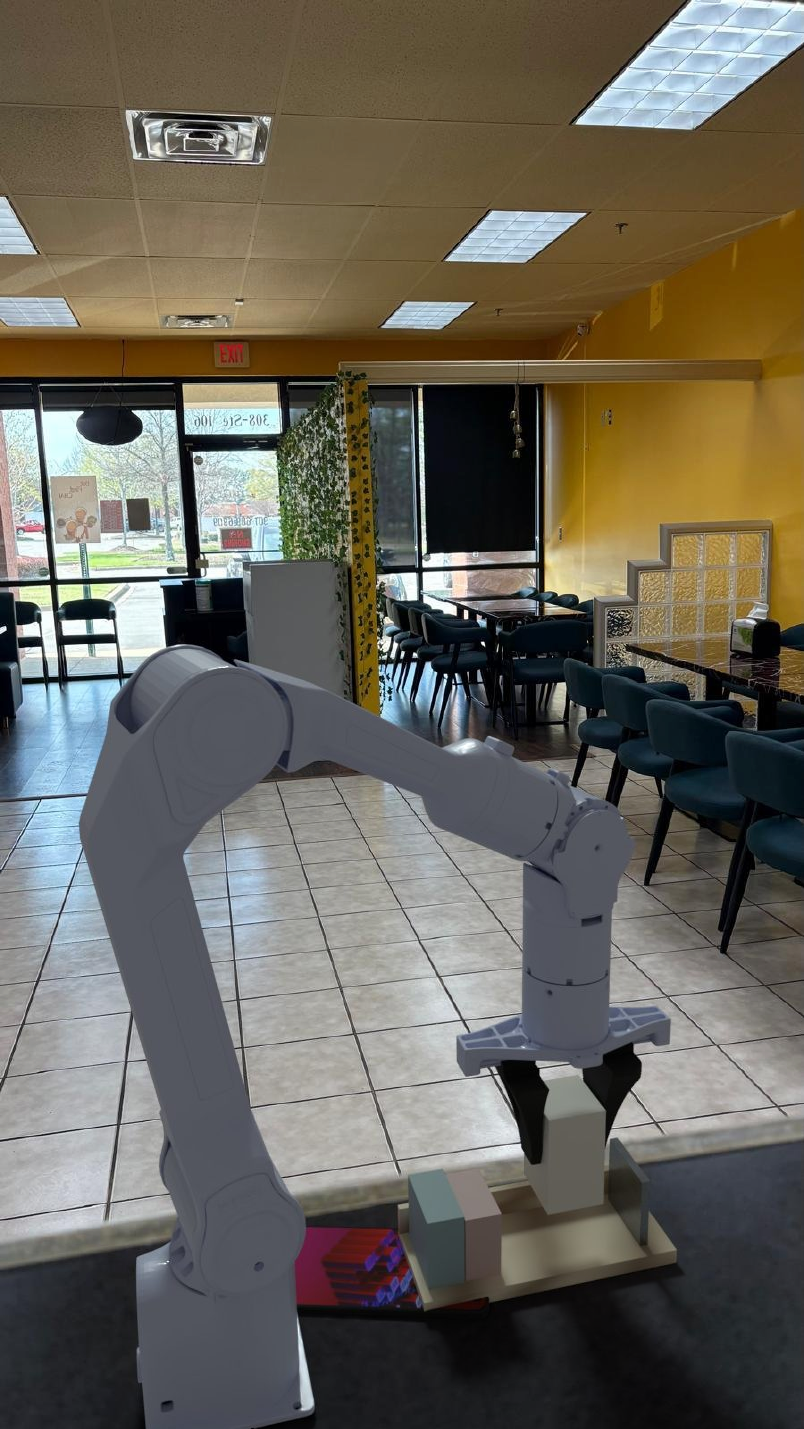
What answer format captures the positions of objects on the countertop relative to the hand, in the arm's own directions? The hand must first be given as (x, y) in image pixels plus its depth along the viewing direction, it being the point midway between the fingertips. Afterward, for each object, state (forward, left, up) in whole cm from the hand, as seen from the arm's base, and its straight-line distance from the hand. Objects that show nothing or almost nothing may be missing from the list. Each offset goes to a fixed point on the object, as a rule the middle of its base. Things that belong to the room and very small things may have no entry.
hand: (562, 1149), depth 70 cm
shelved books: (-8, 0, -8) cm, 11 cm away
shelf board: (-2, 0, -8) cm, 8 cm away
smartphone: (-13, +2, -9) cm, 15 cm away
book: (0, 0, -3) cm, 3 cm away
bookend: (+5, 0, -8) cm, 10 cm away
